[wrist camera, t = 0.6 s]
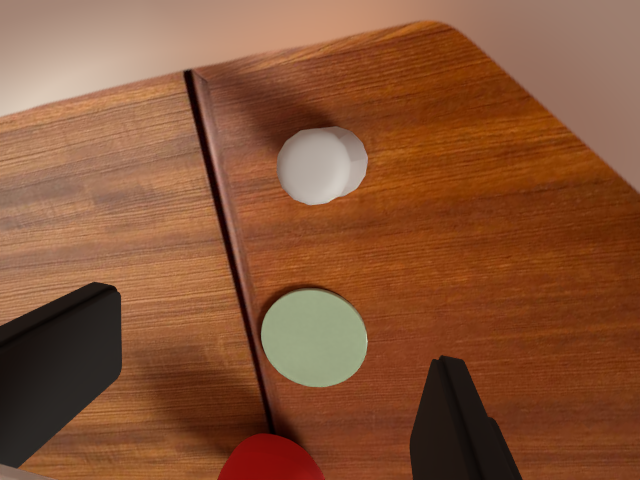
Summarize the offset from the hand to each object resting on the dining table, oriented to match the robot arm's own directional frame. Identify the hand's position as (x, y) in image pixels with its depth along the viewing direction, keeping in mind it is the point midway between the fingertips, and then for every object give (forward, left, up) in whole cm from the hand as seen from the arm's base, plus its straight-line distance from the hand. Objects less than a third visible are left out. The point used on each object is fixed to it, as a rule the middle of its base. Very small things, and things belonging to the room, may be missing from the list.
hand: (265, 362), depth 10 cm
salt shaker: (-4, +2, -24) cm, 24 cm away
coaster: (+9, -9, -23) cm, 27 cm away
